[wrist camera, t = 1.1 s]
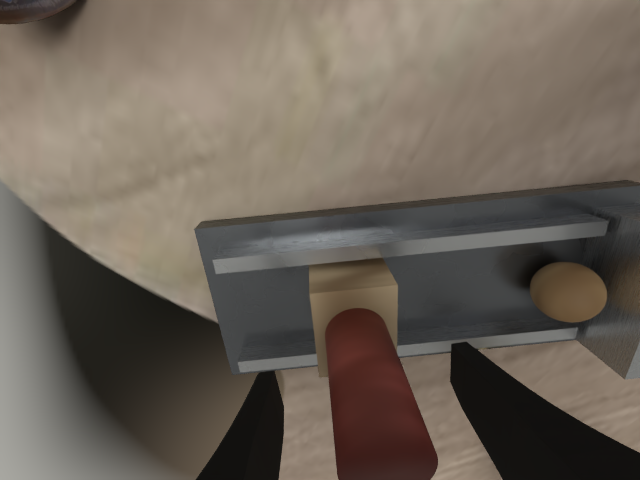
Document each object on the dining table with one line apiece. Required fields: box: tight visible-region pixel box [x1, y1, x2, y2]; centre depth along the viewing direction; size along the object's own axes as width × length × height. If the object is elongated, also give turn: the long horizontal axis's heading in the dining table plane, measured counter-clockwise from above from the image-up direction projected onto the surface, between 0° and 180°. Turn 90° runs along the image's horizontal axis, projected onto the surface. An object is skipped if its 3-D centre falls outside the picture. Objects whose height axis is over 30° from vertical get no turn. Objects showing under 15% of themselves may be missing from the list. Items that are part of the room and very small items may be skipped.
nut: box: [530, 262, 607, 322], centre depth 16 cm, size 3×3×3 cm
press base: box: [194, 180, 640, 379], centre depth 16 cm, size 24×10×5 cm, turn 95°
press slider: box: [309, 258, 438, 480], centre depth 13 cm, size 4×5×9 cm
